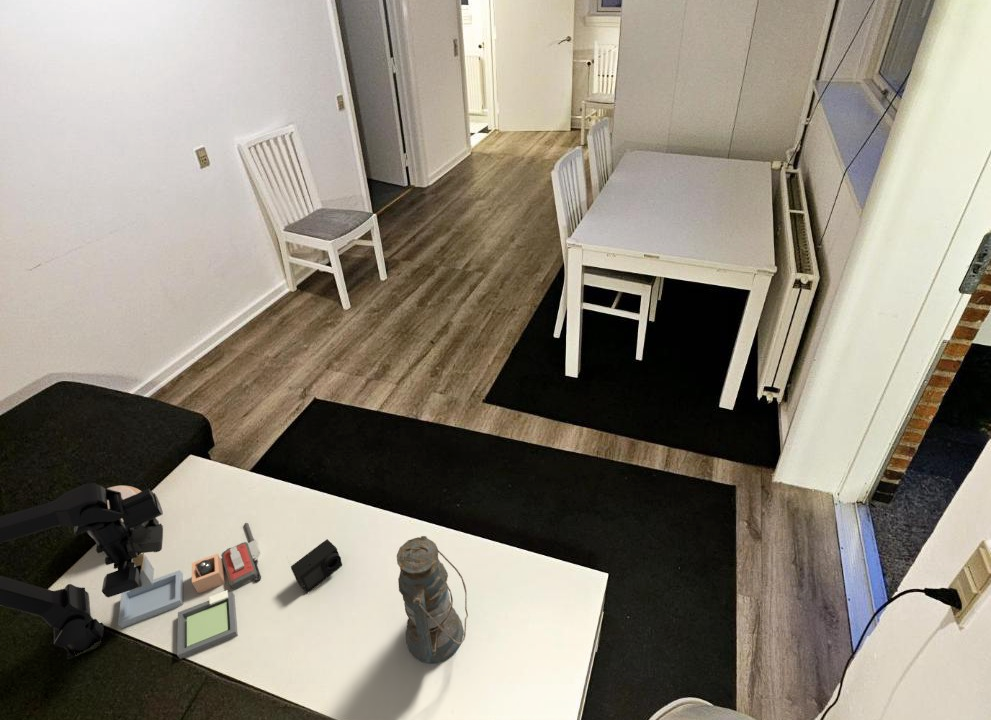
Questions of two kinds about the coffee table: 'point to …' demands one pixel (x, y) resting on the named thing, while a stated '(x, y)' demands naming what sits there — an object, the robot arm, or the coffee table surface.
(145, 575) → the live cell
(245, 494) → the coffee table surface
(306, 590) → the digital camera
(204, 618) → the light green square plate
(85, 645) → the robot arm
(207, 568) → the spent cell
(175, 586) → the tray
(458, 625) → the lantern
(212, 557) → the cup
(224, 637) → the checker frame
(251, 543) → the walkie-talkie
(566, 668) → the coffee table surface
